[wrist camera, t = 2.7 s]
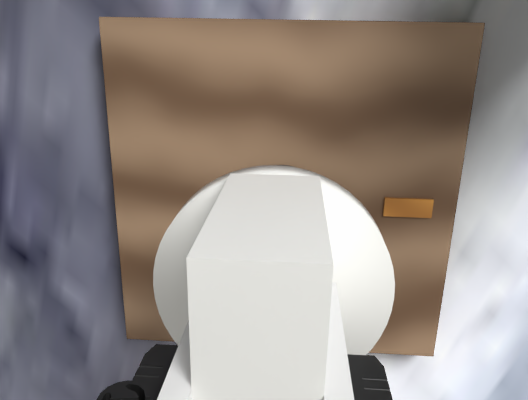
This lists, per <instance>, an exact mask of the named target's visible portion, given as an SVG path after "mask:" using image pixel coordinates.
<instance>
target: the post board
mask: <svg viewBox="0 0 528 400" xmlns="http://www.w3.org/2000/svg"><path fill="white" fill-rule="evenodd" d="M99 25H100V36H101V48H102V59H103V71H104V82H105V94H106V105H107V116H108V128H109V139H110V151H111V162H112V173H113V185H114V196H115V208H116V219H117V231H118V242H119V253H120V265H121V276H122V288H123V299H124V311H125V322H126V333H127V339H141V340H158V341H174V340H173V338H172V337H171V335H170V334H169V332H168V330H167V329H166V327H165V325H164V323H163V321H162V319H161V316H160V314H159V311H158V308H157V304H156V301H155V295H154V288H153V270H154V263H155V257H156V254H157V251H158V248H159V244H160V242H161V240H162V238H163V236H164V234H165V232H166V230H167V229H168V227H169V226H170V224H171V223H172V221H173V220H174V218H175V217H176V215H177V214H178V213H179V211H180V210H181V208H182V207H183V206H184V205H185V204H186V202H187V201H188V200H189V199H190V198H191V197H192V196H193V195H194V194H195V193H196V192H198V191H199V190H200V189H201V188H203V187H204V186H205V185H207V184H209V183H210V182H212V181H213V180H215V179H217V178H219V177H221V176H223V175H226V174H228V173H230V172H233V171H237V170H240V169H244V168H249V167H255V166H263V165H281V166H291V167H296V168H301V169H305V170H309V171H312V172H314V173H317V174H320V175H322V176H324V177H326V178H328V179H330V180H332V181H334V182H336V183H338V184H339V185H340V186H342V187H343V188H345V189H346V190H348V191H349V192H350V193H351V194H352V195H353V196H354V197H356V198H357V199H358V200H359V201H360V202H361V203H362V204H363V206H364V207H365V208H366V209H367V211H368V212H369V213H370V214H371V216H372V218H373V219H374V221H375V223H376V224H377V226H378V228H379V230H380V233H381V235H382V237H383V240H384V242H385V245H386V247H387V249H388V252H389V254H390V258H391V261H392V265H393V269H394V279H395V294H394V302H393V307H392V312H391V315H390V317H389V320H388V323H387V326H386V327H385V329H384V331H383V333H382V335H381V337H380V338H379V340H378V341H377V343H376V344H375V345H374V347H373V348H372V349H371V350H370V351H369V352H368V353H385V354H402V355H420V356H433V354H434V348H435V341H436V335H437V329H438V322H439V316H440V309H441V303H442V296H443V290H444V283H445V277H446V271H447V264H448V258H449V251H450V245H451V238H452V232H453V225H454V219H455V213H456V206H457V200H458V193H459V187H460V180H461V174H462V167H463V161H464V155H465V148H466V142H467V135H468V129H469V122H470V116H471V109H472V103H473V97H474V90H475V84H476V77H477V71H478V64H479V58H480V51H481V45H482V39H483V32H484V26H485V23H467V22H402V21H336V20H271V19H205V18H140V17H99Z"/></svg>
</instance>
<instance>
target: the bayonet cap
mask: <svg viewBox="0 0 528 400" xmlns="http://www.w3.org/2000/svg"><path fill="white" fill-rule="evenodd" d="M332 283H336V284H337V291H338V297H339V304H340V310H341V317H342V323H343V330H344V336H345V343H346V349H347V354H352V355H367V354H368V352H369V351H370V350H371V349H372V348H373V347H374V345H375V344H376V343H377V341H378V340H379V338H380V337H381V335H382V333H383V331H384V329H385V327H386V326H387V323H388V320H389V317H390V315H391V312H392V307H393V302H394V294H395V279H394V269H393V265H392V261H391V258H390V254H389V252H388V249H387V247H386V245H385V242H384V240H383V237H382V235H381V233H380V230H379V228H378V226H377V224H376V223H375V221H374V219H373V218H372V216H371V214H370V213H369V212H368V211H367V209H366V208H365V207H364V206H363V204H362V203H361V202H360V201H359V200H358V199H357V198H356V197H354V196H353V195H352V194H351V193H350V192H349V191H348V190H346V189H345V188H343V187H342V186H340V185H339V184H338V183H336V182H334V181H332V180H330V179H328V178H326V177H324V176H322V175H320V174H317V173H314V172H312V171H309V170H305V169H301V168H296V167H291V166H281V165H263V166H255V167H249V168H244V169H240V170H237V171H233V172H230V173H228V174H226V175H223V176H221V177H219V178H217V179H215V180H213V181H212V182H210V183H209V184H207V185H205V186H204V187H203V188H201V189H200V190H199V191H198V192H196V193H195V194H194V195H193V196H192V197H191V198H190V199H189V200H188V201H187V202H186V204H185V205H184V206H183V207H182V208H181V210H180V211H179V213H178V214H177V215H176V217H175V218H174V220H173V221H172V223H171V224H170V226H169V227H168V229H167V230H166V232H165V234H164V236H163V238H162V240H161V242H160V244H159V248H158V251H157V254H156V257H155V263H154V270H153V288H154V295H155V301H156V304H157V308H158V311H159V314H160V316H161V319H162V321H163V323H164V325H165V327H166V329H167V330H168V332H169V334H170V335H171V337H172V338H173V340H174V341H175V342H176V343H177V345H179V343H180V340H181V338H182V335H183V333H184V330H185V328H186V325H187V323H188V320H189V339H190V366H191V388H192V400H324V392H325V378H326V364H327V350H328V336H329V322H330V308H331V294H332Z"/></svg>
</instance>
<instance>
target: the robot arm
mask: <svg viewBox="0 0 528 400" xmlns="http://www.w3.org/2000/svg"><path fill="white" fill-rule="evenodd" d="M97 400H192V388H191V366H190V339H189V320H188V323H187V325H186V328H185V330H184V333H183V335H182V338H181V340H180V343H179V345H160V344H156V345H155V346H154V347H153V348H151V349H150V350H149V351H148V352H147V353H146V354H145V355H144V357H143V359H142V361H141V364H140V367H139V368H138V370H137V372H136V374H135V377H134V378H133V380H132V381H123V382H118V383H115V384H113V385H111V386H109V387H107V388H106V389H105V390H104V391H102V392H101V393H100V395H99V397H98V398H97ZM324 400H392V396H391V392H390V388H389V384H388V381H387V377H386V373H385V369H384V366H383V365H382V364H381V363H380V362H379V360H378V359H377V358H376V357H375V356H369V355H352V354H347V349H346V343H345V336H344V330H343V323H342V317H341V310H340V304H339V297H338V291H337V284H336V283H332V294H331V308H330V322H329V336H328V350H327V364H326V378H325V392H324Z"/></svg>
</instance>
